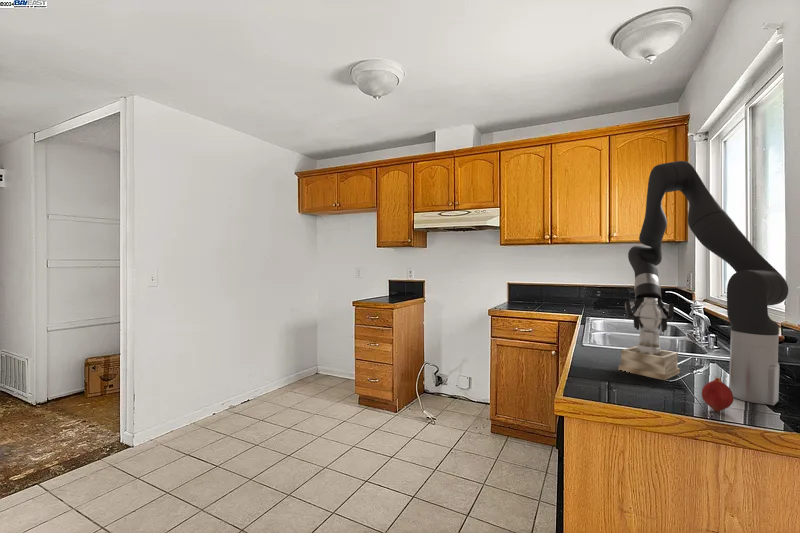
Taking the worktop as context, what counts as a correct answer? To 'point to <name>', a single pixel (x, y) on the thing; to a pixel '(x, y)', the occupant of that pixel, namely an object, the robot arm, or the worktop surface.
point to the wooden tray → (650, 363)
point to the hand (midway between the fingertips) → (650, 329)
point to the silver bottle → (649, 328)
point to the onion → (717, 395)
